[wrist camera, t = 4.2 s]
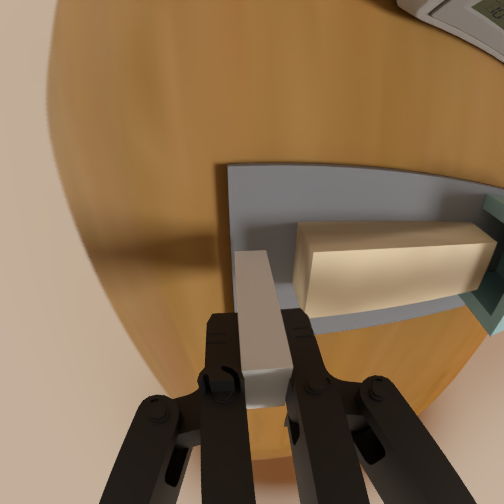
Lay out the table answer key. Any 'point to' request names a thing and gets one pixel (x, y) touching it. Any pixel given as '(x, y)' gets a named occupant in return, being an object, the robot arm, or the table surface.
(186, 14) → the table surface
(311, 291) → the slat
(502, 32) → the digital clock
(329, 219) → the mat
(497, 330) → the end cap
